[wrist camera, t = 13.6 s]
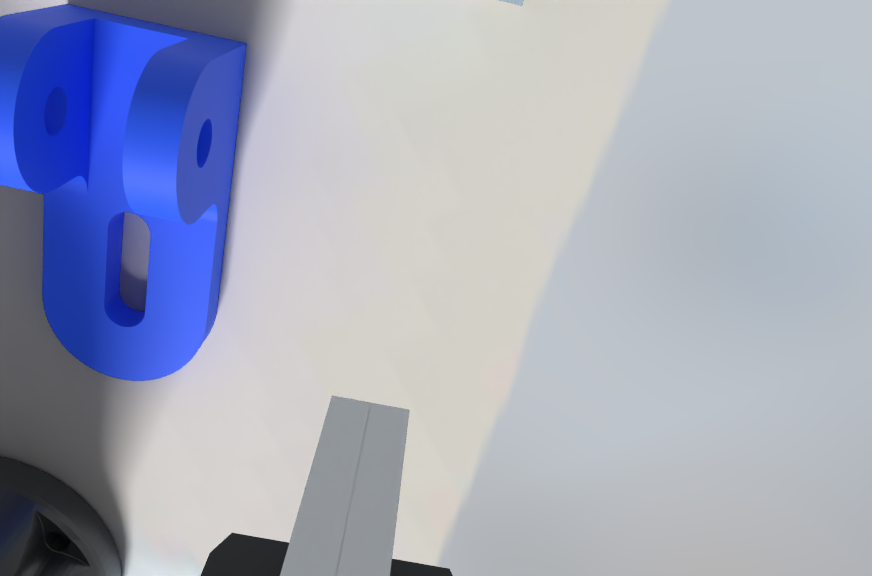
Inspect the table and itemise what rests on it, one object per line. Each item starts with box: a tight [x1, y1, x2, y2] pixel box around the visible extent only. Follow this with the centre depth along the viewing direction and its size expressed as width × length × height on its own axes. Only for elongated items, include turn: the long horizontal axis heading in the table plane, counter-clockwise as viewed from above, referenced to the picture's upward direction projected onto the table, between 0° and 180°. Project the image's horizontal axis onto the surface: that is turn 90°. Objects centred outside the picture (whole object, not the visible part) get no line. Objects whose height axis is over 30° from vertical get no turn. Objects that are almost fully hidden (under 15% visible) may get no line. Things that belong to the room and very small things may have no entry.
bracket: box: [0, 4, 247, 381], centre depth 38 cm, size 18×8×9 cm, turn 168°
